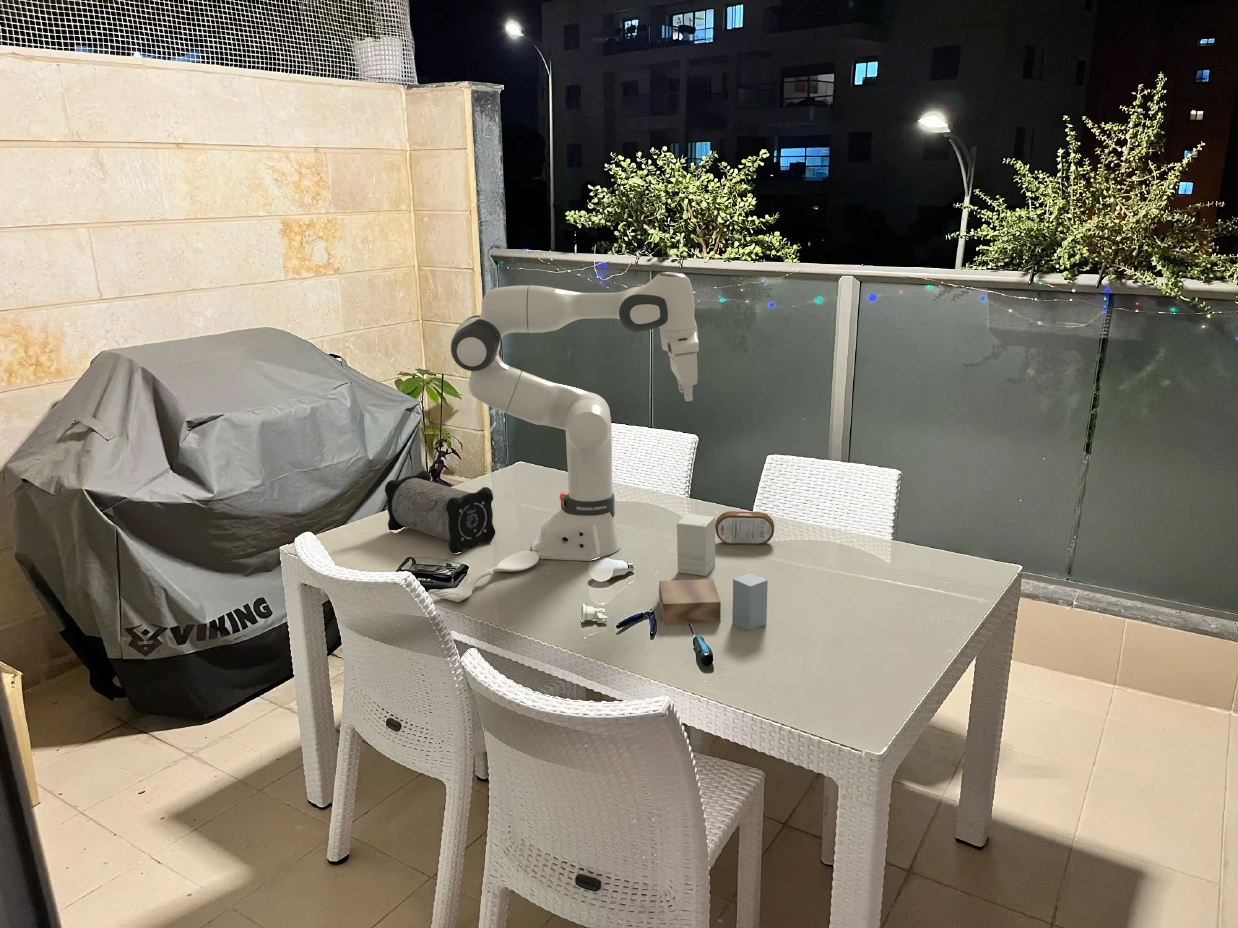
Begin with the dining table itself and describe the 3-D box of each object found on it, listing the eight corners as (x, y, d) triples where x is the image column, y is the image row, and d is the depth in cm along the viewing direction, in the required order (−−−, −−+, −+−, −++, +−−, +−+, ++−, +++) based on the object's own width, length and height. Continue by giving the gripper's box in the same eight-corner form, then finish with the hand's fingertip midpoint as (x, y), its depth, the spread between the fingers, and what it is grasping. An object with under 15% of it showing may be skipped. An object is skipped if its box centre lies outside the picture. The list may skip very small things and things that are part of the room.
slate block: (732, 622, 200) (733, 578, 198) (749, 616, 203) (750, 572, 200) (749, 631, 197) (750, 586, 194) (766, 624, 199) (767, 580, 197)
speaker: (455, 558, 239) (451, 501, 235) (385, 534, 256) (380, 480, 252) (499, 541, 250) (496, 486, 245) (429, 518, 267) (425, 467, 263)
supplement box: (716, 565, 230) (716, 516, 227) (705, 577, 224) (706, 526, 220) (687, 561, 233) (687, 512, 230) (676, 572, 227) (676, 522, 223)
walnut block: (663, 625, 201) (663, 603, 199) (659, 601, 212) (659, 580, 211) (720, 623, 201) (720, 601, 199) (713, 599, 212) (713, 578, 211)
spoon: (427, 603, 213) (426, 589, 212) (518, 557, 239) (517, 544, 238) (457, 612, 209) (456, 597, 208) (546, 564, 234) (546, 551, 233)
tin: (773, 542, 245) (774, 511, 243) (774, 546, 242) (775, 515, 240) (714, 541, 246) (715, 510, 244) (714, 545, 243) (715, 514, 241)
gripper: (661, 335, 237) (667, 389, 241) (672, 349, 218) (679, 407, 222) (686, 331, 237) (692, 385, 242) (699, 345, 218) (705, 403, 222)
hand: (685, 396), depth 231 cm, fingers open, 8 cm apart
